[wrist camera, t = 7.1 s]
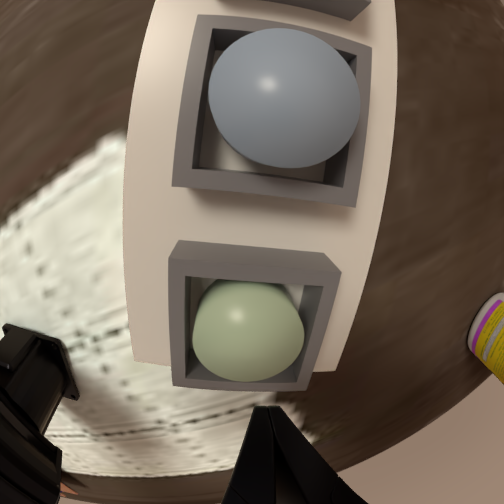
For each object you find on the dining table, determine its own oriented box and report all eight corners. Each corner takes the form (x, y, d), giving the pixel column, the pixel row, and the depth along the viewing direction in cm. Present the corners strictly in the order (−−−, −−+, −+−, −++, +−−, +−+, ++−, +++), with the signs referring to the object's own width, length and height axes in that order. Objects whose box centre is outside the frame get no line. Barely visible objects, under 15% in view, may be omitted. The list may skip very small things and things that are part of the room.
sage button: (284, 353, 15) (292, 381, 13) (196, 348, 15) (192, 378, 12) (301, 274, 14) (315, 297, 11) (199, 266, 13) (193, 289, 11)
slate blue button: (327, 174, 11) (351, 179, 9) (205, 159, 10) (199, 158, 8) (339, 66, 9) (363, 49, 7) (222, 45, 9) (220, 19, 6)
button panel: (330, 361, 18) (347, 396, 14) (138, 351, 16) (124, 388, 13) (381, -36, 8) (404, -57, 5) (190, -71, 7) (186, -101, 4)
